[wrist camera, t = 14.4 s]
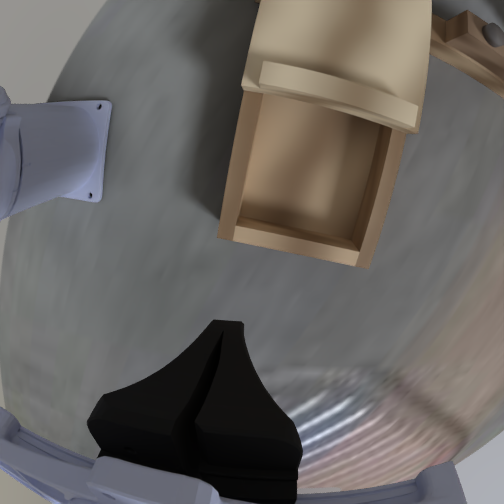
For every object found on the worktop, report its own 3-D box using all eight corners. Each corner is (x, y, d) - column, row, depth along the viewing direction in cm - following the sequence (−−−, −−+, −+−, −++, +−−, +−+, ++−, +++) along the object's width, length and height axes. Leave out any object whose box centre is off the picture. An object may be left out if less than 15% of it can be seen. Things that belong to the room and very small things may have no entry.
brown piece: (210, 221, 21) (201, 234, 18) (261, -21, 14) (259, -41, 11) (475, 280, 21) (492, 296, 18) (519, 87, 14) (540, 86, 11)
